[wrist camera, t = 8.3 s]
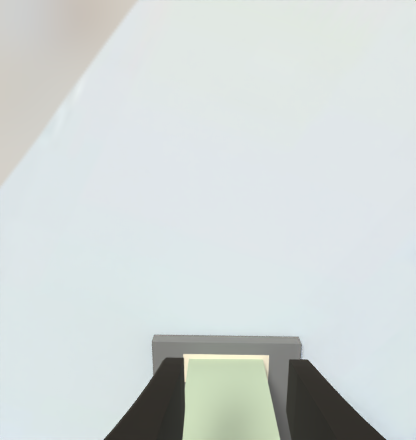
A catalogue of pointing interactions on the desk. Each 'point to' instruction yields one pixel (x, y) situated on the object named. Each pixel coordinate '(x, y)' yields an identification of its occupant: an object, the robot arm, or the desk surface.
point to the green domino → (228, 401)
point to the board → (238, 349)
